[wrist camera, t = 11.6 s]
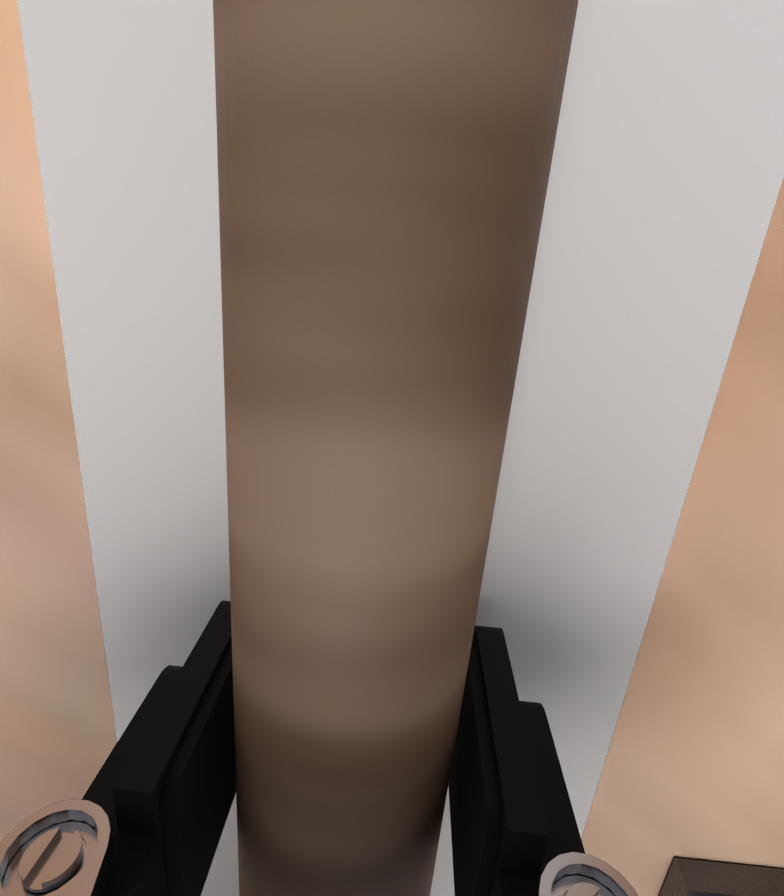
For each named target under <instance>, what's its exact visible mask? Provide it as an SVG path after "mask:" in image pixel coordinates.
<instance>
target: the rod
mask: <svg viewBox="0 0 784 896" xmlns="http://www.w3.org/2000/svg"><path fill="white" fill-rule="evenodd" d="M577 6H578V0H213V20H214V54H215V88H216V123H217V157H218V191H219V225H220V259H221V293H222V327H223V361H224V395H225V429H226V463H227V497H228V531H229V565H230V599H231V633H232V667H233V701H234V735H235V769H236V803H237V837H238V871H239V896H430V892H431V886H432V880H433V874H434V868H435V862H436V856H437V850H438V844H439V838H440V832H441V826H442V820H443V814H444V808H445V802H446V796H447V790H448V784H449V778H450V772H451V765H452V759H453V753H454V747H455V741H456V735H457V729H458V723H459V717H460V711H461V705H462V699H463V693H464V687H465V681H466V675H467V669H468V663H469V657H470V651H471V645H472V639H473V633H474V627H475V621H476V615H477V609H478V603H479V597H480V591H481V585H482V579H483V573H484V567H485V561H486V555H487V549H488V543H489V536H490V530H491V524H492V518H493V512H494V506H495V500H496V494H497V488H498V482H499V476H500V470H501V464H502V458H503V452H504V446H505V440H506V434H507V428H508V422H509V416H510V410H511V404H512V398H513V392H514V386H515V380H516V374H517V368H518V362H519V356H520V350H521V344H522V338H523V332H524V326H525V320H526V314H527V307H528V301H529V295H530V289H531V283H532V277H533V271H534V265H535V259H536V253H537V247H538V241H539V235H540V229H541V223H542V217H543V211H544V205H545V199H546V193H547V187H548V181H549V175H550V169H551V163H552V157H553V151H554V145H555V139H556V133H557V127H558V121H559V115H560V109H561V103H562V97H563V91H564V85H565V78H566V72H567V66H568V60H569V54H570V48H571V42H572V36H573V30H574V24H575V18H576V12H577Z"/></svg>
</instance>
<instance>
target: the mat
mask: <svg viewBox="0 0 784 896" xmlns="http://www.w3.org/2000/svg"><path fill="white" fill-rule="evenodd" d="M17 1H18V9H19V16H20V24H21V31H22V39H23V46H24V54H25V61H26V68H27V76H28V83H29V91H30V98H31V106H32V113H33V120H34V128H35V135H36V143H37V150H38V158H39V165H40V173H41V180H42V187H43V195H44V202H45V210H46V217H47V225H48V232H49V239H50V247H51V254H52V262H53V269H54V277H55V284H56V292H57V299H58V306H59V314H60V321H61V329H62V336H63V344H64V351H65V358H66V366H67V373H68V381H69V388H70V396H71V403H72V410H73V418H74V425H75V433H76V440H77V448H78V455H79V463H80V470H81V477H82V485H83V492H84V500H85V507H86V515H87V522H88V529H89V537H90V544H91V552H92V559H93V567H94V574H95V582H96V589H97V596H98V604H99V611H100V619H101V626H102V634H103V641H104V648H105V656H106V663H107V671H108V678H109V686H110V693H111V701H112V708H113V715H114V723H115V730H116V738H117V742H118V741H119V739H120V737H121V736H122V734H123V733H124V731H125V729H126V728H127V726H128V725H129V723H130V721H131V720H132V718H133V716H134V715H135V713H136V712H137V710H138V708H139V707H140V705H141V704H142V702H143V700H144V699H145V697H146V696H147V694H148V692H149V691H150V689H151V688H152V686H153V684H154V683H155V681H156V680H157V678H158V676H159V675H160V673H161V672H162V671H163V669H164V668H165V667H167V666H168V665H173V666H183V665H184V663H185V662H186V660H187V658H188V657H189V655H190V653H191V651H192V650H193V648H194V646H195V644H196V643H197V641H198V639H199V637H200V636H201V634H202V632H203V631H204V629H205V627H206V625H207V624H208V622H209V620H210V618H211V617H212V615H213V613H214V612H215V610H216V608H217V606H218V605H219V603H220V602H221V601H223V600H224V601H231V599H230V565H229V531H228V497H227V463H226V429H225V395H224V361H223V327H222V293H221V259H220V225H219V191H218V157H217V123H216V88H215V54H214V20H213V0H17ZM783 177H784V0H578V6H577V12H576V18H575V24H574V30H573V36H572V42H571V48H570V54H569V60H568V66H567V72H566V78H565V85H564V91H563V97H562V103H561V109H560V115H559V121H558V127H557V133H556V139H555V145H554V151H553V157H552V163H551V169H550V175H549V181H548V187H547V193H546V199H545V205H544V211H543V217H542V223H541V229H540V235H539V241H538V247H537V253H536V259H535V265H534V271H533V277H532V283H531V289H530V295H529V301H528V307H527V314H526V320H525V326H524V332H523V338H522V344H521V350H520V356H519V362H518V368H517V374H516V380H515V386H514V392H513V398H512V404H511V410H510V416H509V422H508V428H507V434H506V440H505V446H504V452H503V458H502V464H501V470H500V476H499V482H498V488H497V494H496V500H495V506H494V512H493V518H492V524H491V530H490V536H489V543H488V549H487V555H486V561H485V567H484V573H483V579H482V585H481V591H480V597H479V603H478V609H477V615H476V621H475V626H486V627H496V628H502V629H503V632H504V636H505V640H506V645H507V649H508V654H509V658H510V662H511V667H512V671H513V676H514V680H515V684H516V689H517V693H518V698H519V701H527V702H537V703H541V704H542V706H543V707H544V710H545V712H546V715H547V719H548V723H549V726H550V730H551V733H552V737H553V740H554V744H555V748H556V751H557V755H558V758H559V762H560V765H561V769H562V773H563V776H564V780H565V783H566V787H567V790H568V794H569V798H570V801H571V805H572V808H573V812H574V816H575V819H576V823H577V826H578V830H579V833H580V837H581V838H582V835H583V831H584V828H585V825H586V821H587V818H588V815H589V812H590V808H591V805H592V802H593V799H594V795H595V792H596V789H597V785H598V782H599V779H600V776H601V772H602V769H603V766H604V763H605V759H606V756H607V753H608V749H609V746H610V743H611V740H612V736H613V733H614V730H615V727H616V723H617V720H618V717H619V714H620V710H621V707H622V704H623V700H624V697H625V694H626V691H627V687H628V684H629V681H630V678H631V674H632V671H633V668H634V664H635V661H636V658H637V655H638V651H639V648H640V645H641V642H642V638H643V635H644V632H645V628H646V625H647V622H648V619H649V615H650V612H651V609H652V606H653V602H654V599H655V596H656V592H657V589H658V586H659V583H660V579H661V576H662V573H663V570H664V566H665V563H666V560H667V556H668V553H669V550H670V547H671V543H672V540H673V537H674V534H675V530H676V527H677V524H678V520H679V517H680V514H681V511H682V507H683V504H684V501H685V498H686V494H687V491H688V488H689V484H690V481H691V478H692V475H693V471H694V468H695V465H696V462H697V458H698V455H699V452H700V449H701V445H702V442H703V439H704V435H705V432H706V429H707V426H708V422H709V419H710V416H711V413H712V409H713V406H714V403H715V399H716V396H717V393H718V390H719V386H720V383H721V380H722V377H723V373H724V370H725V367H726V363H727V360H728V357H729V354H730V350H731V347H732V344H733V341H734V337H735V334H736V331H737V327H738V324H739V321H740V318H741V314H742V311H743V308H744V305H745V301H746V298H747V295H748V291H749V288H750V285H751V282H752V278H753V275H754V272H755V269H756V265H757V262H758V259H759V255H760V252H761V249H762V246H763V242H764V239H765V236H766V233H767V229H768V226H769V223H770V219H771V216H772V213H773V210H774V206H775V203H776V200H777V197H778V193H779V190H780V187H781V183H782V180H783ZM201 896H239V871H238V837H237V803H236V794H235V797H234V800H233V803H232V806H231V808H230V811H229V814H228V817H227V820H226V823H225V826H224V829H223V832H222V835H221V838H220V841H219V844H218V846H217V849H216V852H215V855H214V858H213V861H212V864H211V867H210V870H209V873H208V876H207V879H206V882H205V884H204V887H203V890H202V893H201ZM430 896H455V892H454V874H453V857H452V839H451V821H450V804H449V786H448V790H447V796H446V802H445V808H444V814H443V820H442V826H441V832H440V838H439V844H438V850H437V856H436V862H435V868H434V874H433V880H432V886H431V892H430Z"/></svg>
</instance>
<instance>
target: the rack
mask: <svg viewBox="0 0 784 896" xmlns="http://www.w3.org/2000/svg"><path fill="white" fill-rule="evenodd" d="M659 896H784V869H776V868H767V867H758V866H748V865H739V864H730V863H720V862H711V861H702V860H692V859H683V858H674V860H673V863H672V865H671V867H670V870H669V872H668V875H667V877H666V880H665V882H664V885H663V887H662V890H661V892H660V895H659Z"/></svg>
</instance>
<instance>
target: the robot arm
mask: <svg viewBox="0 0 784 896" xmlns="http://www.w3.org/2000/svg"><path fill="white" fill-rule="evenodd" d="M448 786H449V804H450V821H451V839H452V857H453V874H454V892H455V896H638V894H637V893H636V891H635V889H634V888H633V887H632V886H631V885H630V884H629V882H628V881H627V880H626V879H625V878H624V877H623V876H622V874H621V873H619V872H618V871H617V870H615V869H614V868H613V867H612V866H610V865H609V864H608V863H606V862H605V861H603V860H600V859H598V858H596V857H594V856H592V855H589V854H585V851H584V848H583V844H582V841H581V837H580V833H579V830H578V826H577V823H576V819H575V816H574V812H573V808H572V805H571V801H570V798H569V794H568V790H567V787H566V783H565V780H564V776H563V773H562V769H561V765H560V762H559V758H558V755H557V751H556V748H555V744H554V740H553V737H552V733H551V730H550V726H549V723H548V719H547V715H546V712H545V710H544V707H543V706H542V704H541V703H537V702H527V701H519V698H518V693H517V689H516V684H515V680H514V676H513V671H512V667H511V662H510V658H509V654H508V649H507V645H506V640H505V636H504V632H503V629H502V628H496V627H486V626H475V627H474V633H473V639H472V645H471V651H470V657H469V663H468V669H467V675H466V681H465V687H464V693H463V699H462V705H461V711H460V717H459V723H458V729H457V735H456V741H455V747H454V753H453V759H452V765H451V772H450V778H449V784H448ZM235 794H236V769H235V735H234V701H233V667H232V633H231V601H224V600H223V601H221V602H220V603H219V605H218V606H217V608H216V610H215V612H214V613H213V615H212V617H211V618H210V620H209V622H208V624H207V625H206V627H205V629H204V631H203V632H202V634H201V636H200V637H199V639H198V641H197V643H196V644H195V646H194V648H193V650H192V651H191V653H190V655H189V657H188V658H187V660H186V662H185V663H184V665H183V666H173V665H168V666H167V667H165V668H164V669H163V671H162V672H161V673H160V675H159V676H158V678H157V680H156V681H155V683H154V684H153V686H152V688H151V689H150V691H149V692H148V694H147V696H146V697H145V699H144V700H143V702H142V704H141V705H140V707H139V708H138V710H137V712H136V713H135V715H134V716H133V718H132V720H131V721H130V723H129V725H128V726H127V728H126V729H125V731H124V733H123V734H122V736H121V737H120V739H119V741H118V742H117V744H116V745H115V747H114V749H113V750H112V752H111V753H110V755H109V757H108V758H107V760H106V761H105V763H104V765H103V766H102V768H101V770H100V771H99V773H98V774H97V776H96V778H95V779H94V781H93V782H92V784H91V786H90V787H89V789H88V790H87V792H86V794H85V795H84V797H83V798H82V800H76V799H72V800H67V801H62V802H57V803H54V804H52V805H49V806H47V807H45V808H43V809H40V810H38V811H36V812H35V813H33V814H32V815H30V816H29V817H27V818H26V819H25V820H23V821H22V822H20V823H19V824H18V825H17V826H16V827H15V828H14V829H13V830H12V831H11V832H10V833H9V834H8V835H7V836H6V837H5V838H4V839H3V840H2V842H1V843H0V896H201V893H202V890H203V887H204V884H205V882H206V879H207V876H208V873H209V870H210V867H211V864H212V861H213V858H214V855H215V852H216V849H217V846H218V844H219V841H220V838H221V835H222V832H223V829H224V826H225V823H226V820H227V817H228V814H229V811H230V808H231V806H232V803H233V800H234V797H235Z"/></svg>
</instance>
